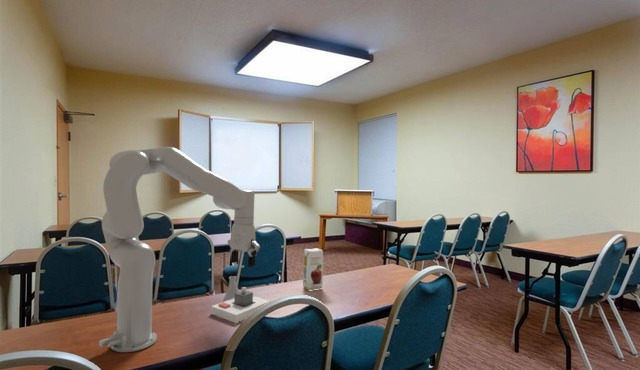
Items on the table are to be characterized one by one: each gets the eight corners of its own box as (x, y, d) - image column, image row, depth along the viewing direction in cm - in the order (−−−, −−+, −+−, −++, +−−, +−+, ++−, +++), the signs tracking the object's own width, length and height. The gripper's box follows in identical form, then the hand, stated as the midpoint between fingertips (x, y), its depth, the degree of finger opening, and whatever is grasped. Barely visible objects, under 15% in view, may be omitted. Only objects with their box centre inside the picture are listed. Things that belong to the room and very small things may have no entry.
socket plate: (236, 323, 122) (236, 313, 122) (211, 313, 130) (211, 304, 130) (270, 308, 137) (270, 299, 137) (245, 300, 145) (246, 292, 145)
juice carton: (301, 287, 164) (302, 248, 164) (316, 285, 168) (317, 247, 168) (308, 292, 158) (309, 251, 158) (324, 289, 162) (325, 250, 162)
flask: (220, 301, 144) (220, 277, 143) (231, 296, 150) (232, 274, 150) (233, 304, 140) (233, 280, 140) (244, 299, 147) (245, 276, 146)
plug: (243, 311, 131) (243, 290, 131) (234, 308, 133) (234, 288, 133) (252, 307, 135) (252, 287, 135) (243, 304, 138) (244, 285, 138)
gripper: (221, 219, 136) (220, 262, 136) (252, 223, 126) (251, 269, 126) (236, 218, 142) (235, 259, 142) (266, 222, 132) (265, 266, 132)
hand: (242, 264), depth 134 cm, fingers open, 9 cm apart
